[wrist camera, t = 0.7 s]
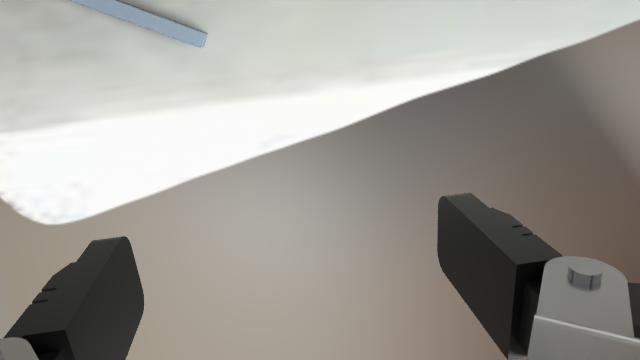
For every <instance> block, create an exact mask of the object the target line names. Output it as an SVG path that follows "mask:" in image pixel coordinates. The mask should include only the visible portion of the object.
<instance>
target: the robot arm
mask: <svg viewBox="0 0 640 360" xmlns="http://www.w3.org/2000/svg"><path fill="white" fill-rule="evenodd" d="M437 247H438V249H437V251H438V258H439V263H440V266H441V268H442V270H443V272H444V273H445V275H446V276H447V278H448V279H449V280H450V282H451V283H452V285H453V286H454V287H455V289H456V290H457V291H458V293H459V294H460V295H461V297H462V298H463V300H464V301H465V302H466V303H467V305H468V306H469V308H470V309H471V311H472V312H473V313H474V315H475V316H476V317H477V319H478V320H479V321H480V323H481V324H482V325H483V327H484V328H485V330H486V331H487V332H488V334H489V335H490V336H491V338H492V339H493V341H494V342H495V343H496V344H497V346H498V347H499V349H500V350H501V351H502V353H503V354H504V356H505V357H506V358H507V360H511V359H517V358H524V357H527V360H640V283H627V280H626V278H625V276H624V275H623V274H622V273H621V272H619V271H618V270H617V269H615V268H614V267H612V266H610V265H608V264H606V263H603V262H601V261H598V260H594V259H590V258H585V257H578V256H562V255H561V254H560V253H558V252H557V251H556V250H555V249H553V248H552V247H551V246H550V245H548V244H547V243H546V242H544V241H543V240H542V239H541V238H539V237H538V236H537V235H533V232H531V231H530V230H529V229H528V228H526V227H523V225H522V224H521V223H520V222H519V221H517V220H516V219H515V218H513V217H512V216H511V215H509V214H507V213H504V212H501V211H499V210H496V209H494V208H489V207H487V206H486V205H485V204H484V203H482V202H481V201H480V200H479V199H478V198H476V197H475V196H474V195H472V194H471V193H464V194H456V195H448V196H442V197H441V198H440V200H439V204H438V244H437ZM143 310H144V294H143V289H142V285H141V281H140V278H139V274H138V270H137V266H136V263H135V258H134V255H133V251H132V247H131V244H130V242H129V240H128V238H127V237H116V238H108V239H100V240H94V241H92V242H91V243H90V244H89V245H88V247H87V248H86V250H85V251H84V252H83V254H82V255H81V256H80V258H79V259H78V260H77V262H74V263H70V264H69V265H67V266H66V267H65V268H63V269H62V270H60V271H59V272H58V273H56V274H55V275H53V276H52V277H51V279H50V280H49V281H48V283H47V284H46V285H45V286H44V287H43V289H42V292H41V293H39V294H38V295H37V296H36V298H35V299H34V300H33V301H32V304H31V305H29V307H28V308H27V309H26V310H25V312H24V313H23V314H22V315H21V316H20V318H19V319H18V320H17V322H16V323H15V324H14V325H13V327H12V328H11V329H10V330H9V332H8V333H7V334H6V335H5V337H4V338H3V339H0V360H125V359H126V357H127V354H128V351H129V349H130V346H131V344H132V341H133V338H134V336H135V333H136V331H137V328H138V325H139V323H140V320H141V318H142V315H143Z"/></svg>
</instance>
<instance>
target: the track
mask: <svg viewBox="0 0 640 360" xmlns="http://www.w3.org/2000/svg"><path fill="white" fill-rule="evenodd" d="M71 1H74V2H76V3H79V4H82V5H85V6H87V7H90V8H93V9H95V10H98V11H101V12H104V13H106V14H109V15H112V16H115V17H117V18H120V19H123V20H126V21H128V22H131V23H134V24H137V25H139V26H142V27H145V28H148V29H150V30H153V31H156V32H159V33H161V34H164V35H167V36H169V37H172V38H175V39H178V40H180V41H183V42H186V43H189V44H191V45H194V46H197V47H200V48H202V47H204V45H205V41H206V38H207V33H204V32H202V31H199V30H196V29H194V28H191V27H188V26H186V25H183V24H180V23H178V22H175V21H172V20H170V19H167V18H164V17H162V16H159V15H156V14H154V13H151V12H148V11H146V10H143V9H140V8H138V7H135V6H132V5H130V4H127V3H124V2H122V1H119V0H71Z"/></svg>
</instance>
